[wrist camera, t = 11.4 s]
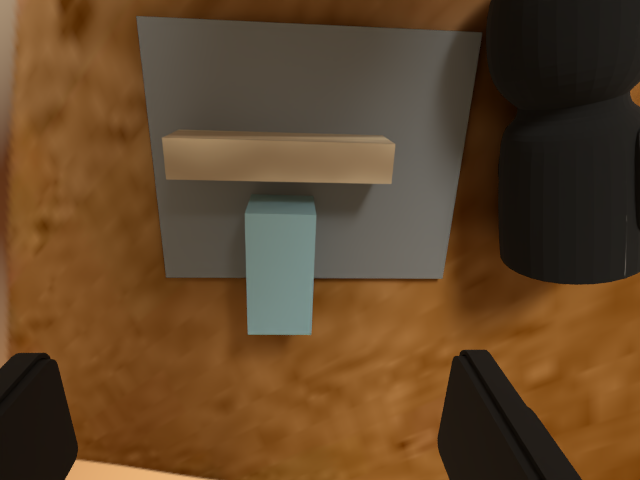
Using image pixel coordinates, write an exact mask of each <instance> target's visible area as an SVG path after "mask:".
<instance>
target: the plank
mask: <svg viewBox="0 0 640 480" xmlns="http://www.w3.org/2000/svg"><path fill="white" fill-rule="evenodd" d="M162 144H163V154H164V163H165V173H166V179H169V180H218V181H267V182H316V183H366V184H392V174H393V164H394V154H395V143H393V142H392V141H390V140H389V139H387V138H386V137H384V136H383V135H352V134H317V133H282V132H247V131H212V130H177V131H175V132H173V133H171V134H169V135H167V136H165V137H162Z"/></svg>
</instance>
